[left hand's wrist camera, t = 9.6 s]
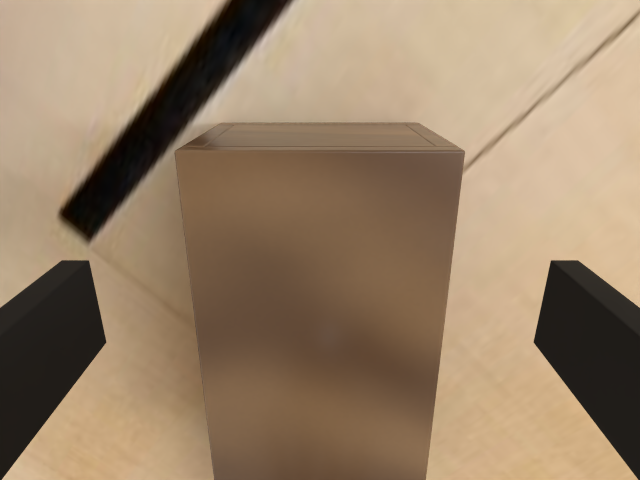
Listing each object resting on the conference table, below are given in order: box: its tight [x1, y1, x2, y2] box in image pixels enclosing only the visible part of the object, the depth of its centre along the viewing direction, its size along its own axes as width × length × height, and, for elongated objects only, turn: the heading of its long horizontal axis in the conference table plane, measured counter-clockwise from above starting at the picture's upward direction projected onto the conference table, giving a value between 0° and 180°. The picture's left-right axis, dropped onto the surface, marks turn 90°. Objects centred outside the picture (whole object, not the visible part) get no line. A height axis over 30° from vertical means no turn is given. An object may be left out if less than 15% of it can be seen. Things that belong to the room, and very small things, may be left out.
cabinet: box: [175, 123, 465, 480], centre depth 25 cm, size 20×11×9 cm, turn 0°
